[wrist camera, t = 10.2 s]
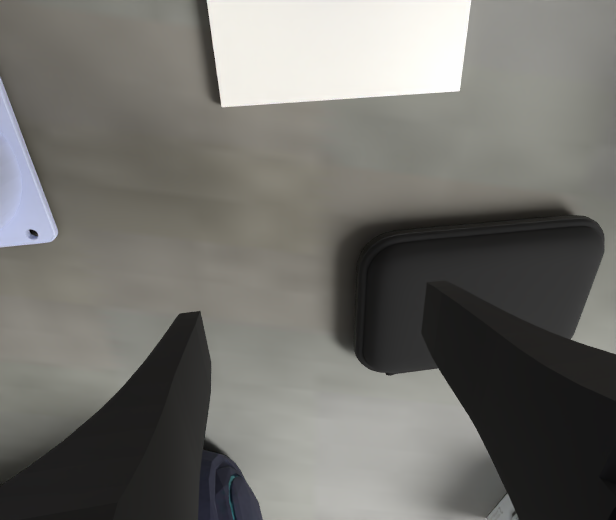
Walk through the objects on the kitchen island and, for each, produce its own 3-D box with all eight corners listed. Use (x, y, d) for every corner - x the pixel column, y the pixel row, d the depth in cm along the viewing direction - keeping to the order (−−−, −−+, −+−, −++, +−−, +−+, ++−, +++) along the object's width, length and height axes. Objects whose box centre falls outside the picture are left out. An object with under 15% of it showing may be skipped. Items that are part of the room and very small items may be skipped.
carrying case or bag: (347, 368, 27) (544, 342, 29) (359, 403, 25) (575, 372, 26) (351, 224, 22) (589, 204, 24) (367, 248, 20) (633, 223, 21)
